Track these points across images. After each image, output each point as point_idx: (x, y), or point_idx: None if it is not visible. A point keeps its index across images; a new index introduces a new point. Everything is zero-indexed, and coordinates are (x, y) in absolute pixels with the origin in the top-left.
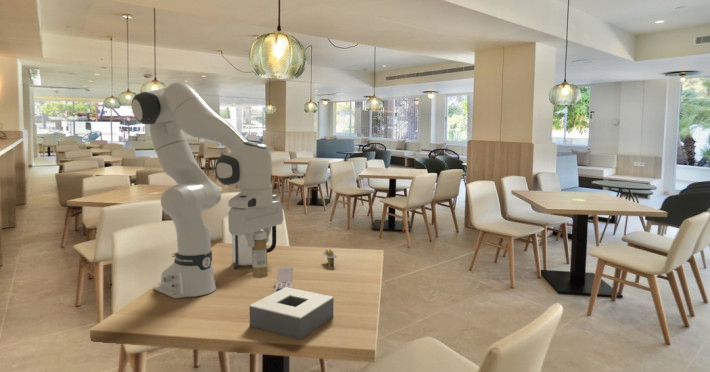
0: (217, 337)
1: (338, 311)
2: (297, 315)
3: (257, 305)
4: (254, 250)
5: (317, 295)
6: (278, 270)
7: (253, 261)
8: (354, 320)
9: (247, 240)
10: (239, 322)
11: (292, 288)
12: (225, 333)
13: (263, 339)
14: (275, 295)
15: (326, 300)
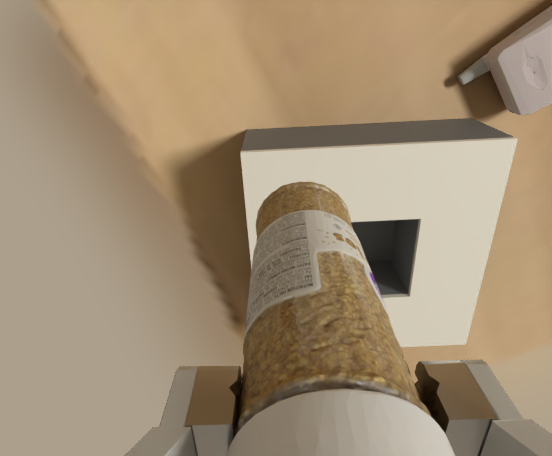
0: (114, 97)
1: (481, 290)
2: None
3: (257, 183)
4: (243, 354)
5: (458, 300)
6: None
7: (251, 271)
8: (433, 348)
9: (147, 437)
10: (249, 69)
11: (506, 177)
12: (153, 97)
13: (203, 229)
14: (392, 170)
15: (422, 343)
